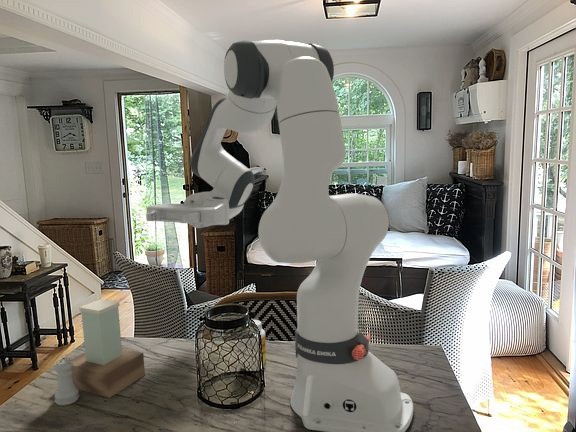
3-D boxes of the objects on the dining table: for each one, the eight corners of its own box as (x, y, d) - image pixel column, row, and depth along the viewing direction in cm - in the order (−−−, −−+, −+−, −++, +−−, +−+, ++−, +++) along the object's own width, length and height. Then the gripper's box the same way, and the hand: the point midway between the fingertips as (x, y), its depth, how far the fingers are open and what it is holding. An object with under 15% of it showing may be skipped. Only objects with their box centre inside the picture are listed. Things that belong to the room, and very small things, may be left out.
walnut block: (144, 374, 101) (143, 352, 100) (109, 397, 92) (107, 374, 91) (103, 364, 106) (101, 343, 105) (66, 385, 97) (63, 363, 96)
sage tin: (123, 354, 100) (119, 302, 98) (103, 365, 95) (98, 310, 93) (104, 350, 102) (100, 299, 100) (84, 361, 97) (79, 307, 95)
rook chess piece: (49, 405, 90) (45, 366, 89) (63, 393, 94) (59, 356, 93) (71, 407, 89) (67, 367, 88) (84, 394, 93) (80, 356, 92)
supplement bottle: (252, 375, 99) (250, 329, 98) (235, 367, 103) (233, 323, 102) (271, 366, 103) (270, 322, 102) (255, 358, 107) (253, 316, 106)
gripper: (167, 196, 124) (129, 203, 112) (233, 199, 115) (200, 206, 103) (168, 220, 125) (131, 229, 113) (234, 224, 116) (201, 234, 104)
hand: (164, 218), depth 108 cm, fingers open, 8 cm apart
